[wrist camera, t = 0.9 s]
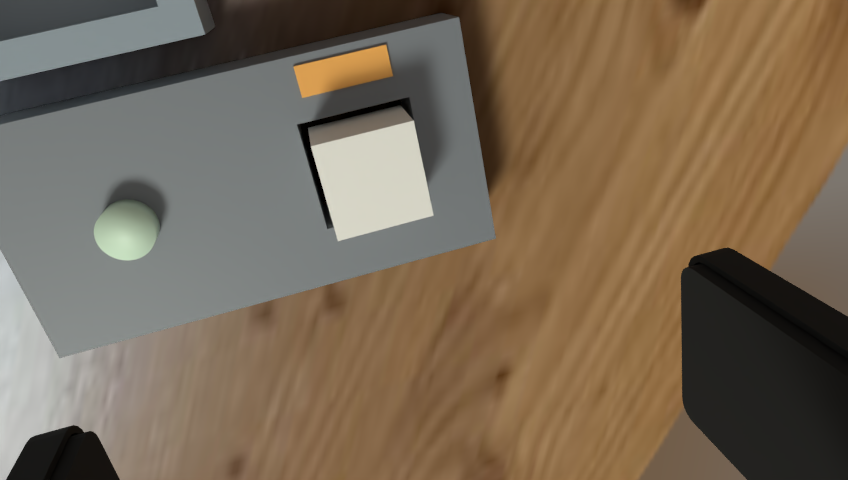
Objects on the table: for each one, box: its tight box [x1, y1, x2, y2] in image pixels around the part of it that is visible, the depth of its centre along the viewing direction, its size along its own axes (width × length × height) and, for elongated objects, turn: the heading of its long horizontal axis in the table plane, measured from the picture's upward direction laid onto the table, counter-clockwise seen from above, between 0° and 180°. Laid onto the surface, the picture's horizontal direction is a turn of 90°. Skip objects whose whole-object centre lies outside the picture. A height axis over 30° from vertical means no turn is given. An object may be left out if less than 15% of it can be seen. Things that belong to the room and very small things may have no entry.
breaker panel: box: [0, 13, 496, 358], centre depth 22 cm, size 16×8×3 cm, turn 101°
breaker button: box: [308, 105, 434, 241], centre depth 21 cm, size 3×3×2 cm
